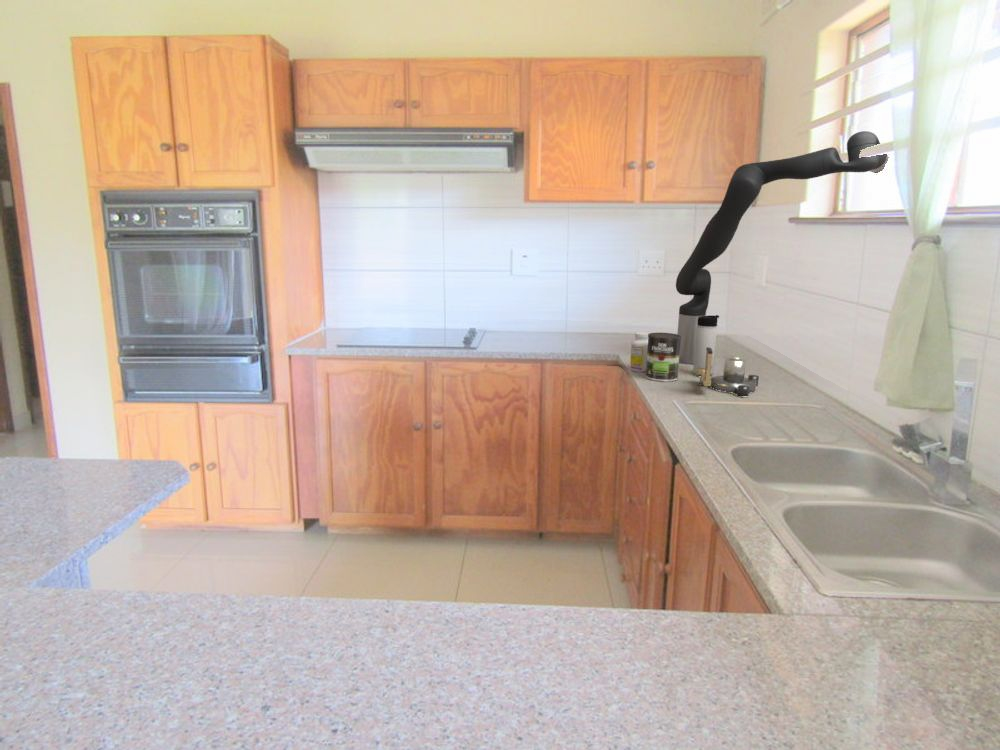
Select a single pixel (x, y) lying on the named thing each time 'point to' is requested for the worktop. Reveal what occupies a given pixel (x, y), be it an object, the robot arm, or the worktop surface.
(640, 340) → the supplement bottle
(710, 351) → the lever
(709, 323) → the travel mug
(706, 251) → the robot arm
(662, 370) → the coffee can
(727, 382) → the levelling base
